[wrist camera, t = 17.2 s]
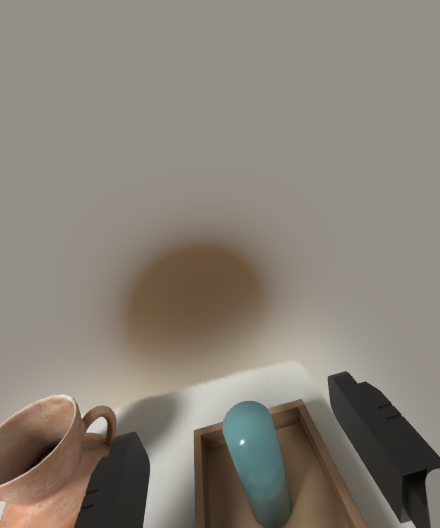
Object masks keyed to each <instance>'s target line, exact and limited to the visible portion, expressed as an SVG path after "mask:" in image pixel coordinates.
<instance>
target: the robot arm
mask: <svg viewBox="0 0 440 528" xmlns="http://www.w3.org/2000/svg"><path fill="white" fill-rule="evenodd" d="M328 386H329V395H330V403H331V407H332V410H333V412H334V415H335V417H336V418H337V420H338V422H339V423H340V425H341V427H342V428H343V430H344V432H345V433H346V435H347V437H348V438H349V440H350V441H351V443H352V445H353V446H354V448H355V450H356V451H357V453H358V454H359V456H360V458H361V459H362V461H363V463H364V464H365V466H366V467H367V469H368V471H369V472H370V474H371V476H372V477H373V479H374V480H375V482H376V484H377V485H378V487H379V489H380V490H381V492H382V494H383V495H384V497H385V498H386V500H387V502H388V503H389V505H390V507H391V508H392V510H393V511H394V513H395V515H396V516H397V518H398V520H399V521H400V523H404V522H408V521H411V520H412V522H413V523H414V525H415V527H416V528H440V457H439V456H438V455H437V454H436V452H435V451H434V450H433V449H432V448H431V447H430V446H429V445H428V444H427V442H426V441H425V440H424V439H423V438H422V437H421V436H420V435H419V433H418V432H417V431H416V430H415V429H414V428H413V427H412V426H411V425H410V424H409V422H408V421H407V420H406V419H405V418H404V417H402V416H401V413H400V412H399V411H398V410H397V409H396V408H395V407H394V406H392V404H391V402H390V401H389V400H388V399H387V398H386V397H385V396H384V395H383V394H382V392H381V391H380V390H378V389H377V388H375V387H373V386H372V385H370V384H369V383H367V382H362V383H359V384H358V383H357V382H356V381H355V380H354V379H353V377H352V376H351V375H350V374H349V373H348V372H346V371H345V372H341V373H338V374H334V375H331V376H328ZM149 476H150V462H149V457H148V455H147V453H146V451H145V449H144V447H143V445H142V443H141V441H140V439H139V437H138V435H137V434H136V432H131V433H128V434H124V435H121V436H117V437H115V438H114V439H113V441H112V444H111V447H110V451H109V454H108V456H105V457H102V458H101V459H100V461H99V463H98V464H97V466H96V467H95V469H94V471H93V472H92V474H91V477H90V480H89V483H88V486H87V489H86V492H85V493H86V494H85V496H84V498H83V501H82V504H81V507H80V512H79V513H78V516H77V519H76V522H75V525H74V528H143V522H144V514H145V507H146V499H147V491H148V484H149Z"/></svg>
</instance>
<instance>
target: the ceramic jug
mask: <svg viewBox="0 0 440 528" xmlns="http://www.w3.org/2000/svg"><path fill="white" fill-rule="evenodd" d="M99 417H104V418H105V419H106V420H107V423H108V426H107V436H106V438H105V437H103V436H102V435H99V434H96V433H85V432H86V431H87V429H88V428H89V426H90V425H91V424H92V423H93V422H94V421H95V420H96V419H97V418H99ZM115 430H116V417H115V414H114V412H113V411H112V409H111V408H109V407H107V406H97V407H95V408H93V409H91V410H90V411H89V412H88V413H87V414H86V415H85V416H84V417H83V419H81V414H80V411H79V408H78V405H77V403H76V401H75V399H74V398H72V397H71V396H69V395H63V394H62V395H53V396H49V397H47V398H43V399H40V400H38V401H36V402H34V403H32V404H30V405H28V406H26V407H24V408H23V409H21V410H20V411H18V412H16V413H15V414H14V415H12V416H11V417H10V418H9V419H8V420H6V421H5V422H3V423H2V424H1V425H0V501H5V502H6V505H5V507H4V510H3V514H2V517H1V521H0V528H74V525H75V522H76V519H77V516H78V513H79V512H80V507H81V504H82V501H83V498H84V496H85V494H86V493H85V492H86V489H87V486H88V483H89V480H90V477H91V474H92V472H93V471H94V469H95V467H96V466H97V464H98V463H99V461H100V459H101V458H102V457H105V456H108V454H109V451H110V447H111V444H112V441H113V439H114V436H115Z"/></svg>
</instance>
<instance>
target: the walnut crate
mask: <svg viewBox="0 0 440 528" xmlns="http://www.w3.org/2000/svg"><path fill="white" fill-rule="evenodd" d="M268 411H269V412H270V414H271V416H272V419H273V424H274V428H275V432H276V436H277V440H278V444H279V448H280V452H281V456H282V460H283V464H284V468H285V472H286V476H287V480H288V485H289V489H290V493H291V497H292V504H293V506H292V513H291V516H290V519H289V520H288V522H287V523H286V524H285V525H284V526H283V527H281V528H367V526H366V524H365V522H364V520H363V518H362V517H361V515H360V513H359V511H358V509H357V507H356V505H355V503H354V501H353V499H352V497H351V495H350V493H349V491H348V489H347V487H346V485H345V483H344V481H343V479H342V477H341V475H340V473H339V471H338V470H337V468H336V466H335V464H334V462H333V460H332V458H331V456H330V454H329V452H328V450H327V448H326V446H325V444H324V442H323V440H322V438H321V436H320V434H319V432H318V430H317V428H316V426H315V424H314V423H313V421H312V419H311V417H310V415H309V413H308V411H307V409H306V407H305V405H304V403H303V401H302V399H300V400H296V401H293V402H289V403H286V404H283V405H279V406H276V407H272V408H269V409H268ZM194 467H195V515H196V528H264V527H262V526H261V525H260V524H259V523H258V522H257V521H256V520H255V518H254V517H253V514H252V512H251V509H250V507H249V504H248V501H247V498H246V495H245V493H244V490H243V487H242V484H241V482H240V479H239V476H238V473H237V471H236V468H235V465H234V462H233V460H232V457H231V454H230V451H229V449H228V446H227V443H226V440H225V437H224V434H223V422H221V423H218V424H214V425H211V426H207V427H204V428H200V429H197V430H194Z"/></svg>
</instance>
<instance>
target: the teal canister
mask: <svg viewBox="0 0 440 528" xmlns="http://www.w3.org/2000/svg"><path fill="white" fill-rule="evenodd" d="M223 434H224V437H225V440H226V443H227V446H228V449H229V451H230V454H231V457H232V460H233V462H234V465H235V468H236V471H237V473H238V476H239V479H240V482H241V484H242V487H243V490H244V493H245V495H246V498H247V501H248V504H249V507H250V509H251V512H252V514H253V517H254V518H255V520H256V521H257V522H258V523H259V524H260V525H261V526H262V527H264V528H281V527H283V526H284V525H285V524H286V523H287V522H288V520H289V519H290V516H291V513H292V506H293V504H292V497H291V493H290V489H289V485H288V480H287V476H286V472H285V468H284V464H283V460H282V456H281V452H280V448H279V444H278V440H277V436H276V432H275V428H274V424H273V419H272V416H271V414H270V412H269V411H268V409H267V408H266V407H265V406H263V405H262V404H260V403H258V402H254V401H245V402H241V403H239V404H237V405H235V406H234V407H232V408H231V409H230V410H229V411H228V413H227V414H226V416H225V418H224V421H223Z"/></svg>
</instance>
